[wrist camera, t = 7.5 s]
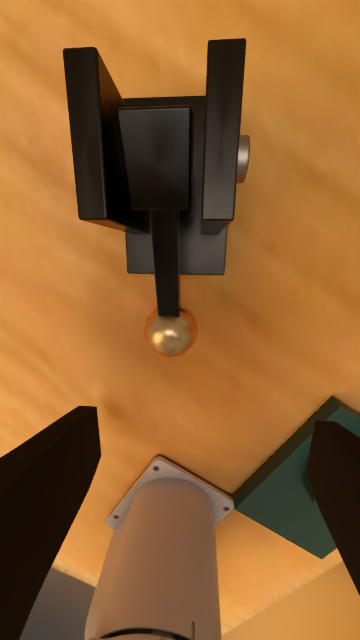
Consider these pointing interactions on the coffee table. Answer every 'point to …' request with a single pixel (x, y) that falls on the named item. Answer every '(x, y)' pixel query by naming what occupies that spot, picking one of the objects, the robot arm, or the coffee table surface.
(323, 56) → the coffee table surface
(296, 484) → the button housing
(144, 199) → the lever
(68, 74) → the bracket
